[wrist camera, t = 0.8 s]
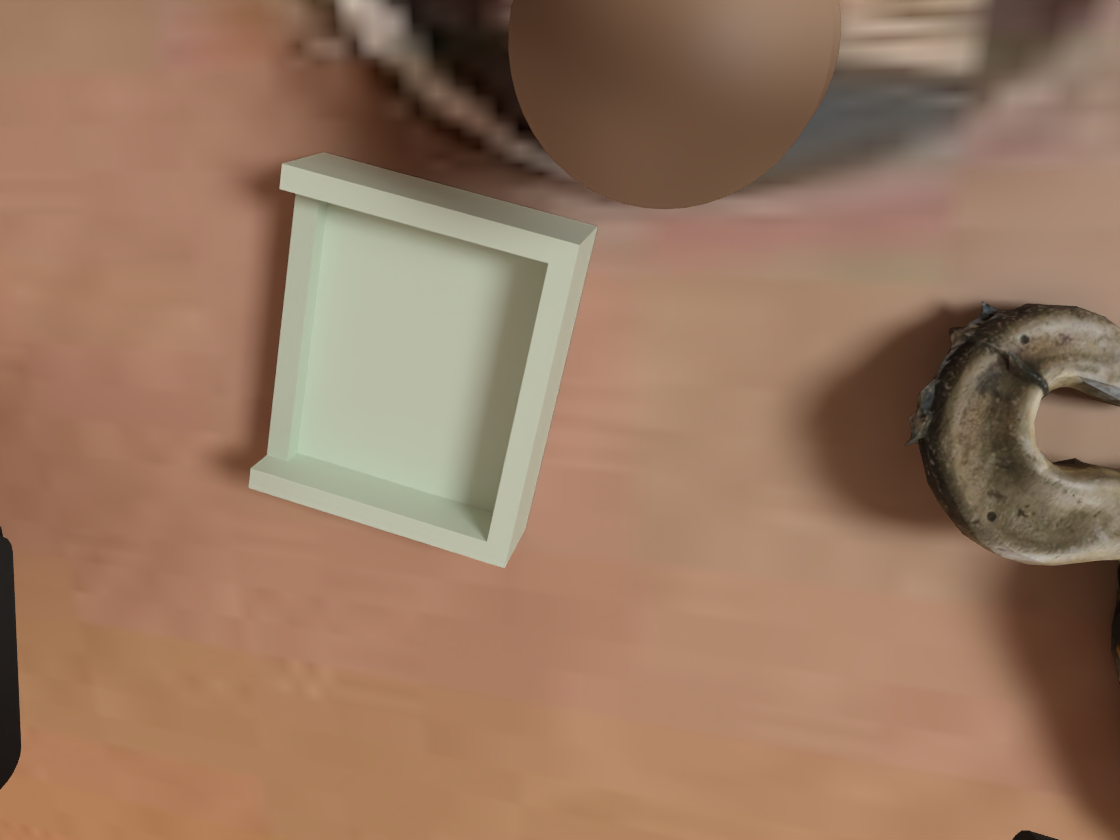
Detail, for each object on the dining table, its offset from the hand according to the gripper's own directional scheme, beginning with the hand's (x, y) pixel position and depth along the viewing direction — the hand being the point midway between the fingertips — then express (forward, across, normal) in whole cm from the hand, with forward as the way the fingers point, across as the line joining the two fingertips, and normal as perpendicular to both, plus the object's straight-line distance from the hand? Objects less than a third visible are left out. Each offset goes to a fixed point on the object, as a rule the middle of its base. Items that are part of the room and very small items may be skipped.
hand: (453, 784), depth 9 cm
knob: (+25, +1, -6) cm, 26 cm away
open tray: (+25, +8, +6) cm, 27 cm away
